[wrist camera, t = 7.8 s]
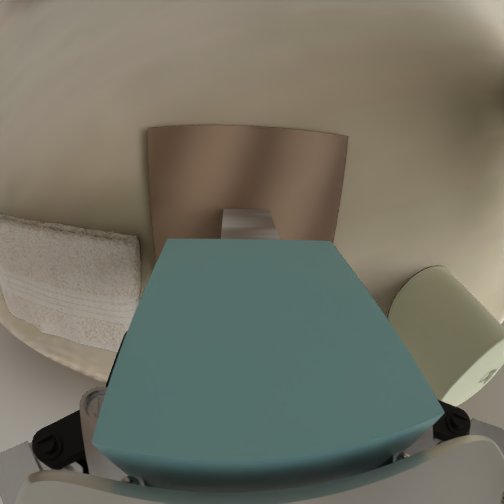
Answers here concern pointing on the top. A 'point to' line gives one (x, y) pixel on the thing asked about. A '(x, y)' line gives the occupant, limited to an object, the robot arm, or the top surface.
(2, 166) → the top surface
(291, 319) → the teal block
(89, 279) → the washcloth
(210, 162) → the post board
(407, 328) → the can
